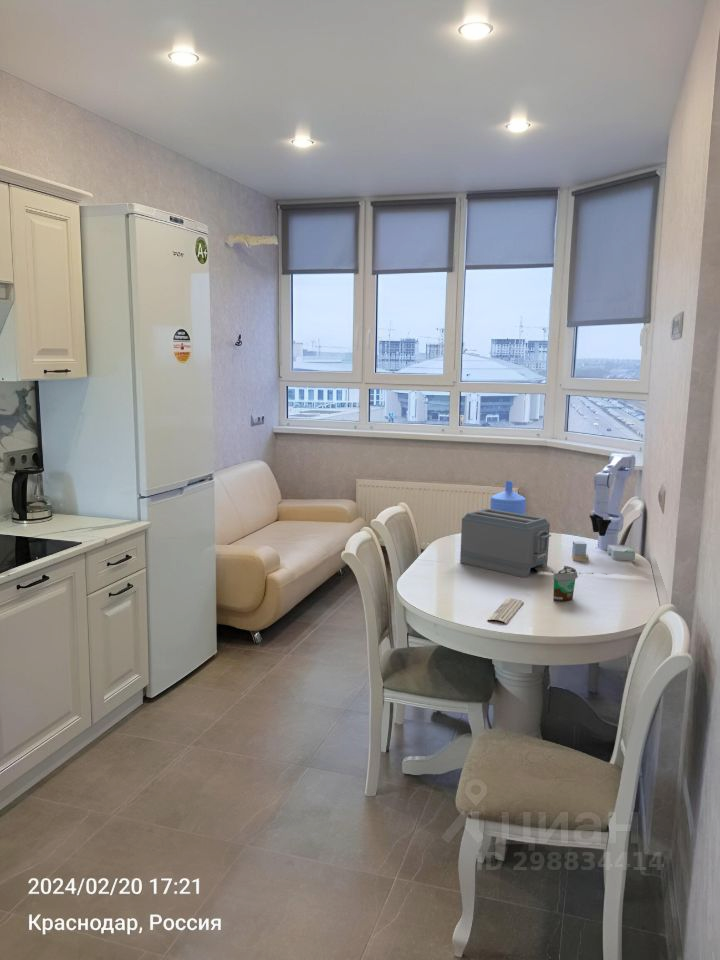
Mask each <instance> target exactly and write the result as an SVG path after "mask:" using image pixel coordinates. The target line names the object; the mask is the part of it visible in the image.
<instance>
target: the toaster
mask: <svg viewBox="0 0 720 960" xmlns="http://www.w3.org/2000/svg"><path fill="white" fill-rule="evenodd" d="M550 525H551V524H550V522H548V519H546V518H545V517H539V516H533V515H529V514H525V515H522V514H516V513H510V512H504V511H498V510H493V509H490V508H484V509H479V510H475V511H471V512H467V513H466V514H465V515H464V517H462V518H461V528H460V529H461V532H460V533H461V534H460V554H459V555H460V556H459V561H460V562H459V563H461V564H463V563H464V565H469V566H473V567H476V566H477V568H480V569H485V570H486V569H487V570H491V571H494V572H499V573H502V574H506V575H507V574H508V575H511V576H517V577H521V578H527V577H528V576H529V575H530V573H531V569H533V568H534V569H537V567H540V568H545V567H548V558H549V546H550V545H549V543H550V537H552V534H550V529H551V526H550Z"/></svg>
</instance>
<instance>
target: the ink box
mask: <svg viewBox="0 0 720 960" xmlns="http://www.w3.org/2000/svg"><path fill="white" fill-rule="evenodd" d="M606 551H607V554H608V555H609V556H610V557H611V559H612V560H619V561H623V560H624V561H629V563H631V564H634V563H635V558H636V551H634V549H633V548H631V547H630V546H629V545H627V544H617V545H611V544H610V545H609V544H608V548H607V550H606Z"/></svg>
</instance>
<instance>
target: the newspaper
mask: <svg viewBox="0 0 720 960" xmlns="http://www.w3.org/2000/svg"><path fill="white" fill-rule="evenodd" d="M524 603H525V602H524V601H523V600H522V599H518V598H506V599H505V600H504V601H503V602H502V604H501V605H500V606H499V607H498V608H497V609H496V610H495V611H494V613H492V615H491V616H489V618H488V619H487V622H491V621H493V620H495V621H499V622H503V623H504V625H508V623H510V621H511V619H512V618H513V617H514V616H515V615H516V614H517V613H518V611H519V610H520V609H521V607H523V605H524ZM522 604H523V605H522ZM518 609H519V610H518ZM488 620H489V621H488ZM490 620H491V621H490Z"/></svg>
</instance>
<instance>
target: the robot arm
mask: <svg viewBox="0 0 720 960" xmlns="http://www.w3.org/2000/svg"><path fill="white" fill-rule="evenodd" d="M608 461H609V462H608V463H609V464H607V465H605V466H604V467H603V468H602V470H601V471H600V472H597V473H595V475H594V477H593V478H594V479H593V486H594V487H593V489H594V501H593V503H594V504H593V509H592V511H590V515H589V518H590V521H591V525H592V532H593V533H598V535H597V546H595V547H594V548H595V549H598V550H603V551H607V548H608V544H609V545H610V544H611V545H618V541H619V533H620V532H622V530H623V528H624V521H625V518H624V514H623V513H622V512H621V511H620V508H621V504H622V501H623V497H624V492H625V489H626V484H627V481H628V478H629V477H631V476H632V475H633V473H634V470H635V467H636V456H635V454H632V453H631V454H629V453H627V454H626V453H617V452H612V453H610V456H609V460H608ZM611 488H612V490H611ZM610 492H611V494H610Z"/></svg>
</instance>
